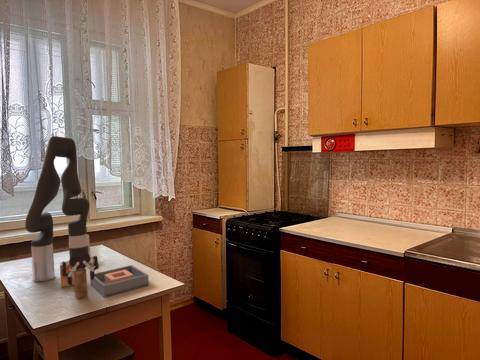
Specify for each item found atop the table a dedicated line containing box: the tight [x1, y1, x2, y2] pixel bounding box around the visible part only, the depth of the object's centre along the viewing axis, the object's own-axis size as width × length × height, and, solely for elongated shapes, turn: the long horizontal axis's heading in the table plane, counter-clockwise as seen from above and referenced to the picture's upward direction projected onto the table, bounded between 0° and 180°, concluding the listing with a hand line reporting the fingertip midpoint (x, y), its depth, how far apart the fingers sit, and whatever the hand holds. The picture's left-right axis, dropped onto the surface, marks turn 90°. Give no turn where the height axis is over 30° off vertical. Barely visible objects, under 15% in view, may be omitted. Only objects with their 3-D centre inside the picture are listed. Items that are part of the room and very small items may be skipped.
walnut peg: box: [74, 267, 89, 300], centre depth 147 cm, size 4×4×12 cm
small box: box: [59, 261, 75, 288], centre depth 163 cm, size 8×6×10 cm
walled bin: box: [89, 264, 150, 298], centre depth 159 cm, size 20×20×5 cm
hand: (81, 282), depth 147 cm, fingers open, 8 cm apart
